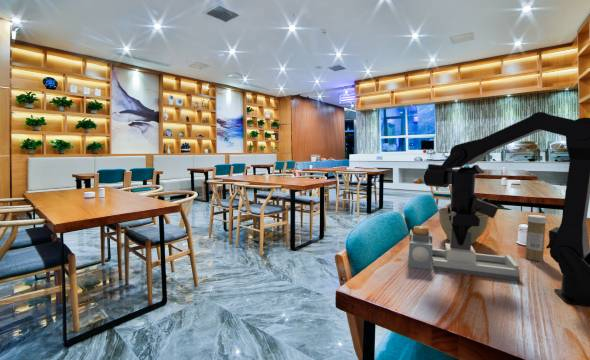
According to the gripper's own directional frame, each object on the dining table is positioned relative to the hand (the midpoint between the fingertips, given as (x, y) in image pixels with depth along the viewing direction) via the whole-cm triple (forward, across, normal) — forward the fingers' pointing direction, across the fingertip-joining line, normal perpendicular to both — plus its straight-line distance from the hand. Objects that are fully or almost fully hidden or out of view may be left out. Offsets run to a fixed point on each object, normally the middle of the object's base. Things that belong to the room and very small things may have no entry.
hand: (460, 243), depth 89 cm
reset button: (-2, 0, +10) cm, 11 cm away
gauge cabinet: (+6, 0, +10) cm, 12 cm away
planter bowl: (+7, +29, -4) cm, 30 cm away
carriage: (+5, 0, 0) cm, 5 cm away
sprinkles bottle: (+7, +15, -22) cm, 28 cm away
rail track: (+6, 0, -3) cm, 7 cm away
